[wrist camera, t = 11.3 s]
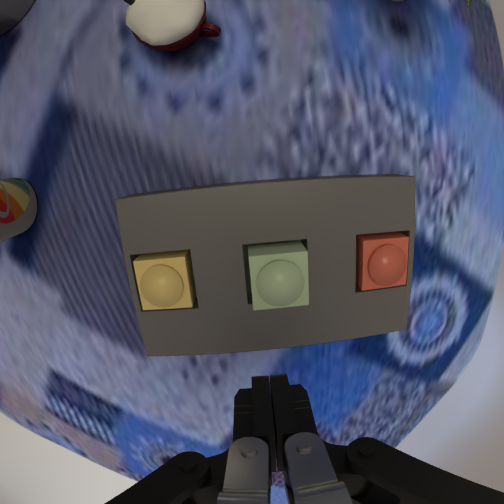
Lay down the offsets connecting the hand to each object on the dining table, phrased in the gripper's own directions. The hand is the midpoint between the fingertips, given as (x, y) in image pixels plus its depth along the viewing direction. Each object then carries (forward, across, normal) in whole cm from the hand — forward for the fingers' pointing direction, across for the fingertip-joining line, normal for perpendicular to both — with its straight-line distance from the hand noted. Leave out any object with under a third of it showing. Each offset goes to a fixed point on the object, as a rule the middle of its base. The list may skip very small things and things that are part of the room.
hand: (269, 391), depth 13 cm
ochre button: (+16, +7, -1) cm, 17 cm away
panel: (+17, -2, -1) cm, 17 cm away
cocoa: (+17, +6, -23) cm, 29 cm away
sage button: (+14, -2, -1) cm, 14 cm away
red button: (+16, -11, -1) cm, 19 cm away
